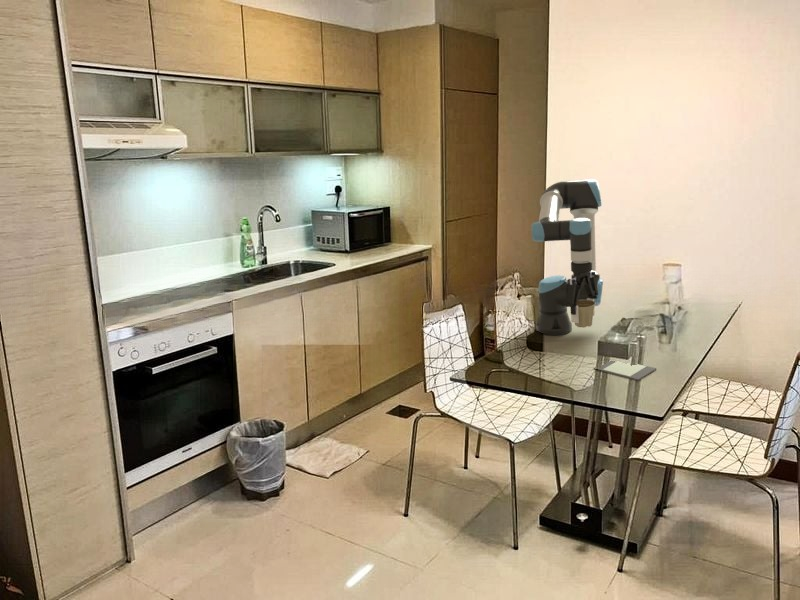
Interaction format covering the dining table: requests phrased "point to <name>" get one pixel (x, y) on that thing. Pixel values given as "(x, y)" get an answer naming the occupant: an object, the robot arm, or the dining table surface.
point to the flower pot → (585, 312)
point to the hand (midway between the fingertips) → (583, 318)
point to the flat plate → (627, 370)
